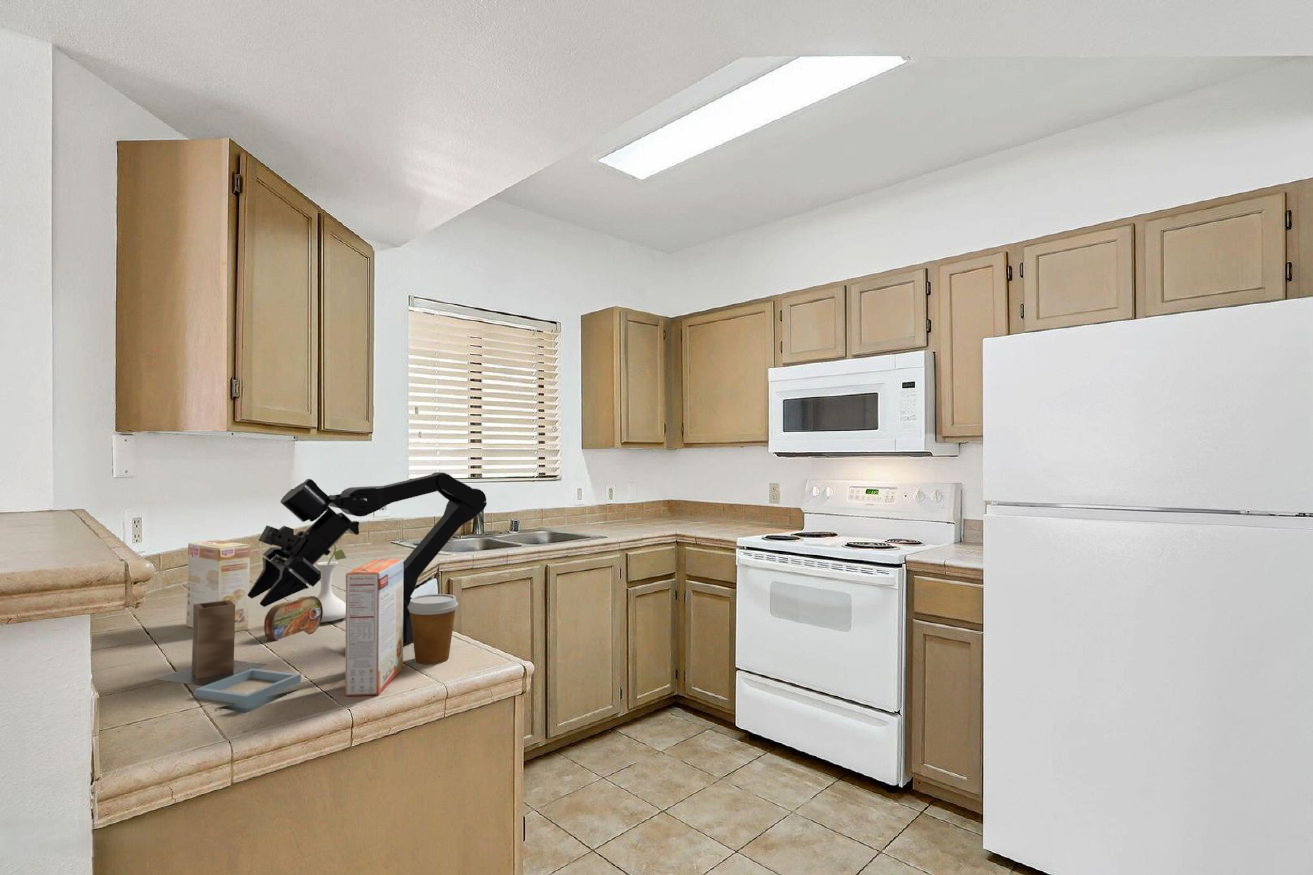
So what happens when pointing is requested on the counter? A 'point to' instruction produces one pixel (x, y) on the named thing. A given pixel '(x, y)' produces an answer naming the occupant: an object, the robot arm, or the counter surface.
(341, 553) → the flower in vase
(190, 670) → the plate
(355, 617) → the cracker box
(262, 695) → the slate tray
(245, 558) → the coffeecake box
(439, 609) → the disposable coffee cup
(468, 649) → the counter surface
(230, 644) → the walnut collar
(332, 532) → the robot arm
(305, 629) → the tin
